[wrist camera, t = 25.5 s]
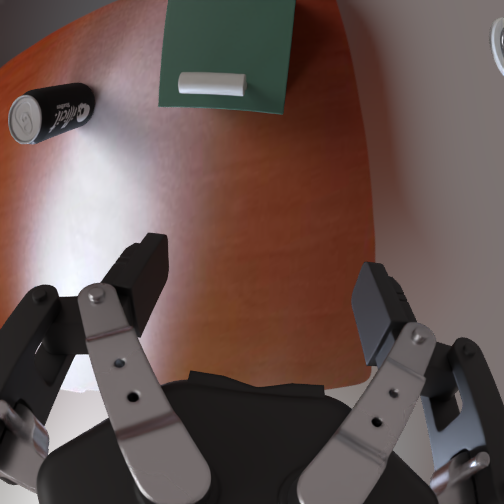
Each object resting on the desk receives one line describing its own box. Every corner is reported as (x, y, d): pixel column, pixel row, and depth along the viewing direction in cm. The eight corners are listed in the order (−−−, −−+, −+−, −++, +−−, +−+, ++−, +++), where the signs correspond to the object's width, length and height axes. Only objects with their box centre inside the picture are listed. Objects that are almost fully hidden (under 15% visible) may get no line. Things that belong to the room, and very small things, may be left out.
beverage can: (89, 74, 32) (33, 80, 22) (103, 114, 35) (50, 132, 25) (56, 95, 33) (0, 109, 23) (70, 133, 37) (16, 156, 26)
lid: (282, 114, 26) (285, 118, 21) (160, 106, 26) (137, 111, 21) (297, -23, 19) (302, -46, 14) (174, -26, 19) (155, -45, 14)
